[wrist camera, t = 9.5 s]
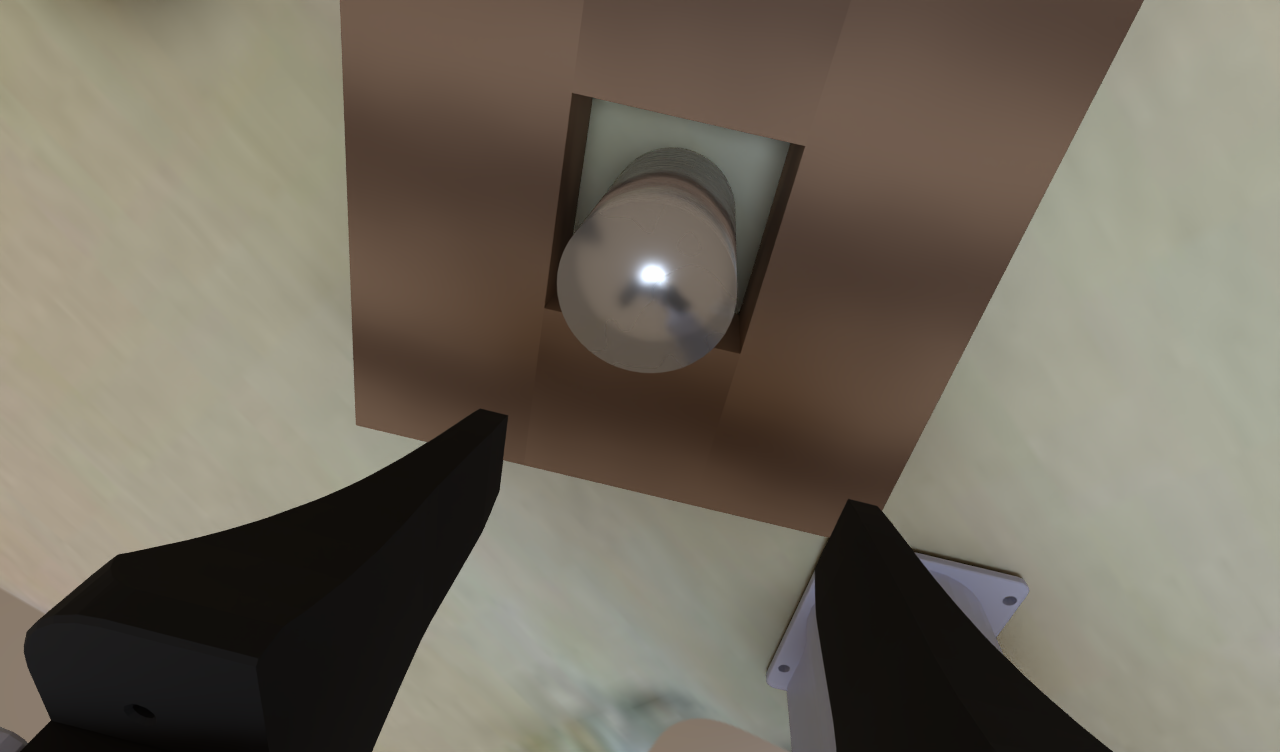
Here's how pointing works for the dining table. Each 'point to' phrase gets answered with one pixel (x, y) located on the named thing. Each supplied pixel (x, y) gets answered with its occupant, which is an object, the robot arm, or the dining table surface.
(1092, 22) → the dock block
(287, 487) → the dining table surface
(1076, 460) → the dining table surface
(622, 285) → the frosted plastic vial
